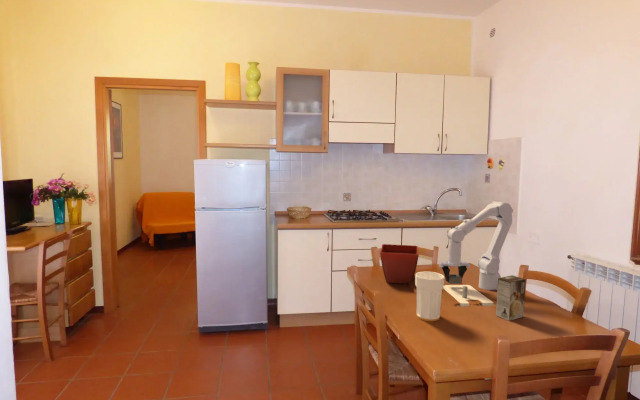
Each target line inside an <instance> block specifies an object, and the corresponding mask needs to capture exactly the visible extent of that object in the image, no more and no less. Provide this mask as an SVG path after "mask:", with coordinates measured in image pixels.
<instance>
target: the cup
mask: <svg viewBox="0 0 640 400" xmlns="http://www.w3.org/2000/svg"><path fill="white" fill-rule="evenodd" d="M414 278H415V279H414V285H415V287H416V310H415V311H416V312H415V313H416V317H417V319H420V320H422V321H424V322H437V321H440V318H441V317H440V316H441V305H442V294H443V290H444V289H443V287H444V284H445V275H443V274H441V273H439V272H435V271H429V270H428V271H427V270H426V271H418V272H415V275H414Z"/></svg>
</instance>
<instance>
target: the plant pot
mask: <svg viewBox="0 0 640 400" xmlns="http://www.w3.org/2000/svg"><path fill="white" fill-rule="evenodd" d="M419 252H420V251H419V246H418V245H410V244H409V245H408V244H407V245H406V244H405V245H404V244H390V243H389V244H388V243H382V244H381V249H380V251H379V254H380V261H381V267H382V271H383V275H384V280H385V282H386V283H392V284H393V283H394V284H405V285H406V284H407V285H409V283H411V282H413V280H414V278H415V275H416V270H417V267H418V262H419V255H420V253H419Z"/></svg>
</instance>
